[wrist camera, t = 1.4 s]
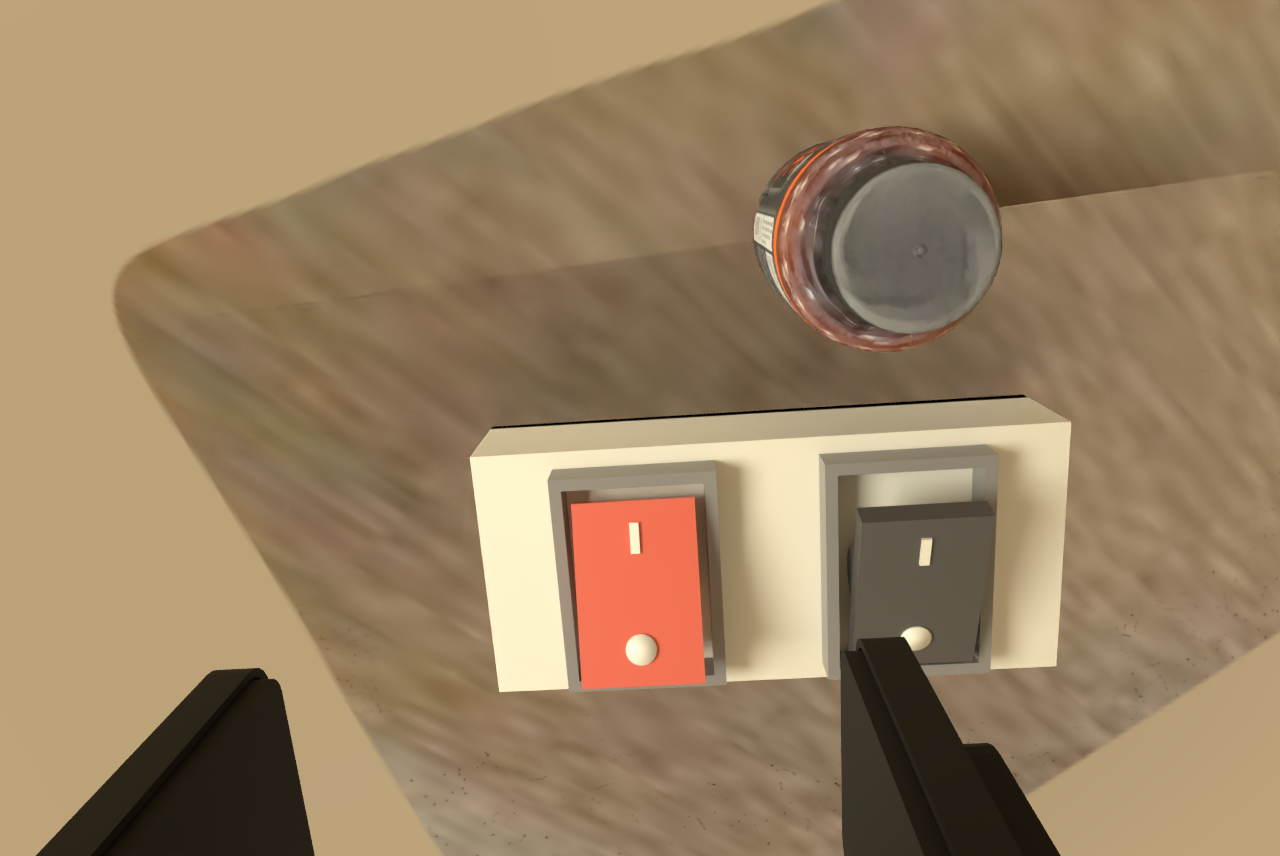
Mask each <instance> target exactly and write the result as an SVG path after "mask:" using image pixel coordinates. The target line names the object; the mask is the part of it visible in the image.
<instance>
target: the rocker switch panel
mask: <svg viewBox="0 0 1280 856" xmlns="http://www.w3.org/2000/svg"><path fill="white" fill-rule="evenodd" d="M1070 433H1071V421H1069V420H1067V419H1065V418H1064V417H1062V416H1060V415H1058V414H1056V413H1055V412H1053V411H1051V410H1049V409H1048V408H1046V407H1044V406H1042V405H1041V404H1039V403H1037V402H1035V401H1034V400H1032V399H1030V398H1028V397H1026V396H1025V395H1023V394H1022V395H1006V396H989V397H973V398H956V399H940V400H923V401H907V402H890V403H874V404H857V405H841V406H824V407H808V408H791V409H775V410H758V411H742V412H725V413H709V414H692V415H676V416H659V417H643V418H626V419H610V420H593V421H577V422H560V423H544V424H527V425H511V426H494V427H492V428H491V429H490V431H489V432H488V433H487V435H486V436H485V437H484V439H483V440H482V441H481V443H480V444H479V446H478V447H477V448H476V450H475V451H474V452H473V454H472V455H471V456H470V463H471V471H472V479H473V486H474V494H475V502H476V510H477V518H478V526H479V534H480V542H481V550H482V558H483V566H484V574H485V581H486V589H487V597H488V605H489V613H490V621H491V629H492V637H493V645H494V653H495V661H496V669H497V676H498V684H499V692H509V691H531V690H552V689H569V692H585V691H606V690H628V689H649V688H671V687H693V686H714V685H727V681H746V680H768V679H789V678H811V677H827V678H828V680H841V667H840V663H841V653H842V651H848V639H849V622H850V606H851V594H850V589H849V583H848V573H847V554H848V549H849V547H850V546H854V541H855V524H856V508H861V507H880V506H898V505H916V504H934V503H952V502H970V501H988V503H989V505H990V507H991V508H992V510H993V512H994V513H995V515H996V518H995V525H994V531H993V537H992V543H991V549H990V556H989V562H988V568H987V574H986V581H985V587H984V593H983V599H982V606H981V612H980V618H979V624H978V631H977V637H976V643H975V649H974V655H973V661H960V662H939V663H919V664H920V666H921V668H922V669H923V671H924V673H925V675H926V676H931V675H952V674H974V673H990V670H991V669H1005V668H1026V667H1048V666H1056V661H1057V645H1058V629H1059V612H1060V596H1061V580H1062V563H1063V547H1064V531H1065V514H1066V498H1067V482H1068V465H1069V449H1070ZM691 495H694V497H695V514H696V531H697V547H698V564H699V581H700V597H701V614H702V631H703V647H704V664H705V681H706V684H685V685H663V686H642V687H620V688H598V689H582V680H581V664H580V647H579V630H578V614H577V597H576V580H575V564H574V547H573V531H572V514H571V504H572V503H573V502H584V501H602V500H620V499H638V498H655V497H673V496H691Z"/></svg>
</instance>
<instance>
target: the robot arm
mask: <svg viewBox="0 0 1280 856" xmlns="http://www.w3.org/2000/svg"><path fill="white" fill-rule="evenodd" d="M840 667H841V759H842V837H843V849H844V856H1060V854H1059V852H1058V851H1057V849H1056V847H1055V846H1054V844H1053V842H1052V841H1051V839H1050V838H1049V836H1048V834H1047V832H1046V831H1045V829H1044V827H1043V825H1042V824H1041V822H1040V821H1039V819H1038V818H1037V815H1036V814H1035V812H1034V810H1033V809H1032V807H1031V805H1030V804H1029V802H1028V801H1027V799H1026V797H1025V795H1024V794H1023V792H1022V790H1021V789H1020V787H1019V785H1018V784H1017V782H1016V780H1015V779H1014V777H1013V775H1012V774H1011V772H1010V770H1009V769H1008V767H1007V765H1006V764H1005V762H1004V760H1003V759H1002V757H1001V755H1000V754H999V752H998V751H997V750H996V749H995V747H994V746H993V745H991V744H988V743H978V744H963V743H962V741H961V740H960V738H959V736H958V734H957V732H956V730H955V728H954V727H953V725H952V723H951V721H950V719H949V717H948V716H947V714H946V712H945V710H944V708H943V706H942V704H941V703H940V701H939V699H938V697H937V695H936V693H935V692H934V690H933V688H932V686H931V684H930V682H929V680H928V679H927V677H926V675H925V673H924V671H923V669H922V668H921V666H920V664H919V662H918V660H917V658H916V656H915V655H914V653H913V651H912V649H911V647H910V645H909V644H908V642H907V640H906V639H905V637H884V638H863V639H858V640H857V642H856V650H855V651H842V653H841V663H840ZM36 856H314V850H313V845H312V840H311V835H310V830H309V825H308V820H307V815H306V810H305V805H304V801H303V795H302V790H301V785H300V780H299V775H298V770H297V765H296V760H295V755H294V750H293V745H292V740H291V735H290V730H289V725H288V720H287V715H286V710H285V705H284V700H283V695H282V690H281V687H280V684H279V683H278V682H277V681H276V680H275V679H268V677H267V675H266V674H265V672H264V671H263V670H261V669H260V668H253V669H232V670H215V671H212V672H210V673H209V674H208V675H207V676H206V677H205V678H204V679H203V680H202V681H201V682H200V683H199V684H198V685H197V686H196V687H195V688H194V689H193V691H191V693H190V694H189V695H188V696H187V697H186V698H185V699H184V700H183V701H182V702H181V703H180V704H179V705H178V706H177V707H176V708H175V709H174V710H173V712H172V713H171V714H170V715H169V716H168V717H167V718H166V719H165V720H164V721H163V722H162V723H161V724H160V725H159V726H158V727H157V729H155V731H154V732H153V733H152V734H151V735H150V736H149V737H148V738H147V739H146V740H145V741H144V742H143V743H142V744H141V745H140V746H139V748H138V749H137V750H136V751H135V752H134V753H133V754H132V755H131V756H130V757H129V758H128V759H127V760H126V761H125V762H124V763H123V764H122V765H121V766H120V767H119V769H118V770H117V771H116V772H115V773H114V774H113V775H112V776H111V777H110V778H109V779H108V780H107V781H106V782H105V784H103V785H102V787H101V788H100V789H99V790H98V791H97V792H96V793H95V794H94V795H93V796H92V797H91V798H90V799H89V800H88V801H87V802H86V803H85V804H84V805H83V807H82V808H81V809H80V810H79V811H78V812H77V813H76V814H75V815H74V816H73V817H72V818H71V819H70V820H69V821H68V822H67V823H66V824H65V826H64V827H63V828H62V829H61V830H60V831H59V832H58V833H57V834H56V835H55V836H54V837H53V838H52V839H51V840H50V841H49V842H48V843H47V845H46V846H45V847H44V848H43V849H42V850H41V851H40V852H39V853H38V854H37V855H36Z"/></svg>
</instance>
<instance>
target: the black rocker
mask: <svg viewBox="0 0 1280 856" xmlns="http://www.w3.org/2000/svg"><path fill="white" fill-rule="evenodd" d="M995 518H996V515H995V513H994V512H993V510H992V508H991V507H990V505H989V503H988V501H970V502H952V503H934V504H916V505H898V506H880V507H861V508H856V524H855V541H854V546H850V547H849V549H848V554H847V573H848V583H849V589H850V594H851V606H850V622H849V639H848V651H855V650H856V642H857V640H858V639H863V638H884V637H905V639H906V640H907V642H908V644H909V645H910V647H911V649H912V651H913V653H914V655H915V656H916V658H917V660H918V662H919V663H939V662H960V661H973V655H974V649H975V643H976V637H977V631H978V624H979V618H980V612H981V606H982V599H983V593H984V587H985V581H986V574H987V568H988V562H989V556H990V549H991V543H992V537H993V531H994V525H995Z"/></svg>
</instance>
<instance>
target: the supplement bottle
mask: <svg viewBox="0 0 1280 856" xmlns="http://www.w3.org/2000/svg"><path fill="white" fill-rule="evenodd" d="M753 243H754V251H755V255H756V258H757V261H758V264H759V266H760V268H761V270H762V272H763V274H764V275H765V277H766V279H767V281H768V282H769V283H770V285H771V286H772V287H773V288H774V290H775V291H776V292H777V293H778V294H779V295H780V296H781V297H782V298H783V299H784V300H785V301H786V302H787V303H788V304H789V305H790V306H791V307H792V308H793V309H794V310H795V311H796V312H797V313H798V314H799V315H800V316H801V317H802V318H803V320H805V321H806V322H807V323H808V324H809V325H811V326H812V327H813V328H814V329H816V330H817V331H818V332H819V333H821V334H823V335H824V336H826V337H827V338H829V339H831V340H833V341H835V342H837V343H839V344H842V345H844V346H847V347H850V348H854V349H858V350H864V351H869V352H895V351H902V350H906V349H910V348H914V347H917V346H920V345H923V344H925V343H928V342H930V341H933V340H935V339H937V338H939V337H940V336H942V335H943V334H945V333H946V332H948V331H950V330H951V329H953V328H954V327H955V326H956V325H957V324H959V323H960V322H961V321H962V320H963V319H964V318H965V317H966V316H967V315H968V314H969V313H970V312H971V311H972V310H973V308H974V307H975V306H976V305H977V303H978V302H979V301H980V300H981V299H982V297H983V296H984V295H985V293H986V292H987V290H988V289H989V288H990V286H991V284H992V282H993V280H994V277H995V276H996V273H997V270H998V267H999V264H1000V258H1001V254H1002V226H1001V215H1000V209H999V206H998V202H997V199H996V195H995V193H994V191H993V189H992V186H991V184H990V182H989V180H988V179H987V177H986V175H985V174H984V172H983V171H982V169H981V168H980V166H979V165H978V164H977V163H976V162H975V161H974V159H973V158H971V157H970V156H969V155H968V154H967V153H966V152H965V151H964V150H963V149H962V148H960V147H959V146H957V145H956V144H955V143H954V142H952V141H950V140H948V139H946V138H944V137H942V136H940V135H937V134H933V133H931V132H928V131H924V130H921V129H918V128H909V127H901V126H894V127H882V128H875V129H866V130H863V131H859V132H856V133H853V134H850V135H846V136H843V137H841V138H838V139H835V140H832V141H829V142H825V143H821V144H817V145H814V146H812V147H810V148H808V149H806V150H804V151H802V152H800V153H798V154H797V155H796V156H795V157H793V158H792V159H791V160H789V161H788V162H787V163H786V164H785V165H784V166H783V167H782V168H780V169H779V170H778V171H777V173H776V174H775V175H774V176H773V177H772V178H771V180H770V181H769V183H768V184H767V186H766V187H765V189H764V191H763V192H762V194H761V196H760V199H759V202H758V204H757V208H756V212H755V216H754V222H753Z"/></svg>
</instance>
